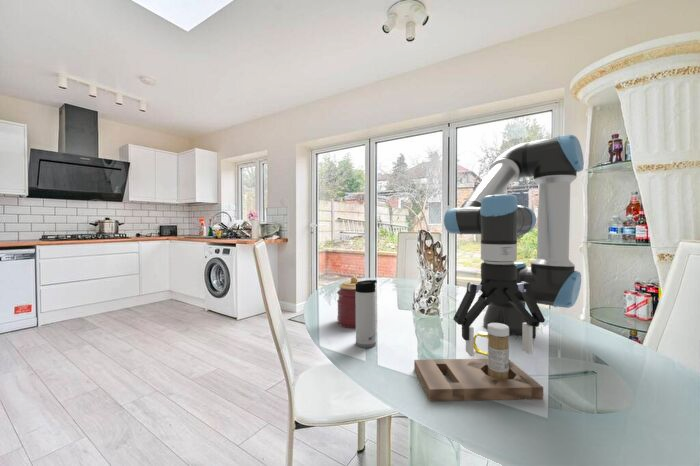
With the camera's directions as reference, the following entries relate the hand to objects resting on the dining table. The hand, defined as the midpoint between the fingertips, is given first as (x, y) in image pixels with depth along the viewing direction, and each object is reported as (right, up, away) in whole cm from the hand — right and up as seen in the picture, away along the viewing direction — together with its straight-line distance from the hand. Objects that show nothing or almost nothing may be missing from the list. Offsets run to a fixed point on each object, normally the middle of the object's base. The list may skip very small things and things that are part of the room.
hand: (498, 352), depth 71 cm
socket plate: (-6, -7, 0) cm, 9 cm away
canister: (-33, -6, +44) cm, 56 cm away
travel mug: (-30, -7, +24) cm, 38 cm away
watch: (+4, -7, +16) cm, 18 cm away
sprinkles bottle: (0, -7, 0) cm, 7 cm away
